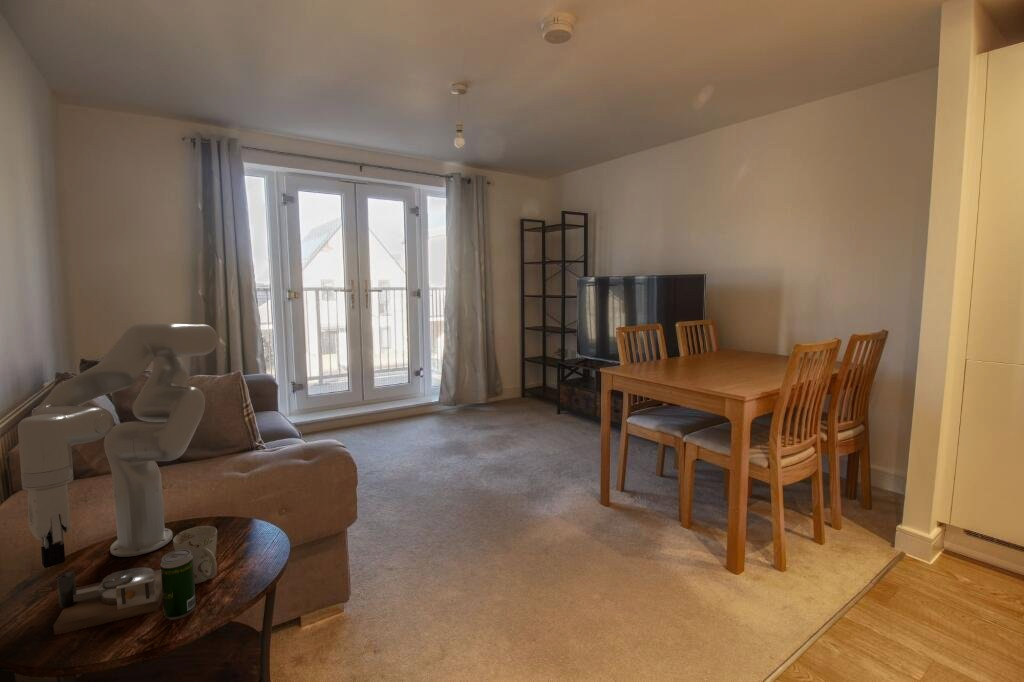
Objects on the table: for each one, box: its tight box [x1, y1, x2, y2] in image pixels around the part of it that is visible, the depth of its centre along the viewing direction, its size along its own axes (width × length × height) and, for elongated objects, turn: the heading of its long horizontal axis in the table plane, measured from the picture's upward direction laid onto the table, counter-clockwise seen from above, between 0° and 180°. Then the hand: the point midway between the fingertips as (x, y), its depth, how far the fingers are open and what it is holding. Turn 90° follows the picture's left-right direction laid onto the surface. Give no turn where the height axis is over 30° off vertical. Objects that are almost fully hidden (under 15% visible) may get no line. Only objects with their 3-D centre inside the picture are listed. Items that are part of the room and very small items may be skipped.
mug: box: [172, 525, 218, 585], centre depth 109 cm, size 8×13×10 cm, turn 60°
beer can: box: [160, 549, 197, 621], centre depth 98 cm, size 5×5×12 cm
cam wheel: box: [56, 566, 155, 609], centre depth 100 cm, size 15×9×6 cm, turn 117°
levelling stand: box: [53, 569, 163, 636], centre depth 100 cm, size 14×16×6 cm
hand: (53, 563), depth 100 cm, fingers closed
